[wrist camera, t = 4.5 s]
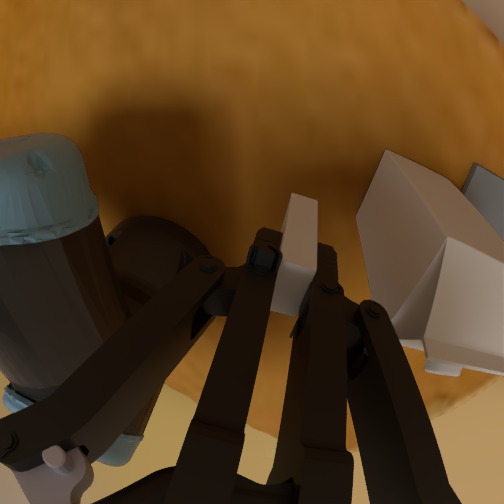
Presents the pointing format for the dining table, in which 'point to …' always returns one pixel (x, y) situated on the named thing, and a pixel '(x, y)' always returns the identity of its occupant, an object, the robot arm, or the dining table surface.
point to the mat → (486, 196)
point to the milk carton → (434, 267)
